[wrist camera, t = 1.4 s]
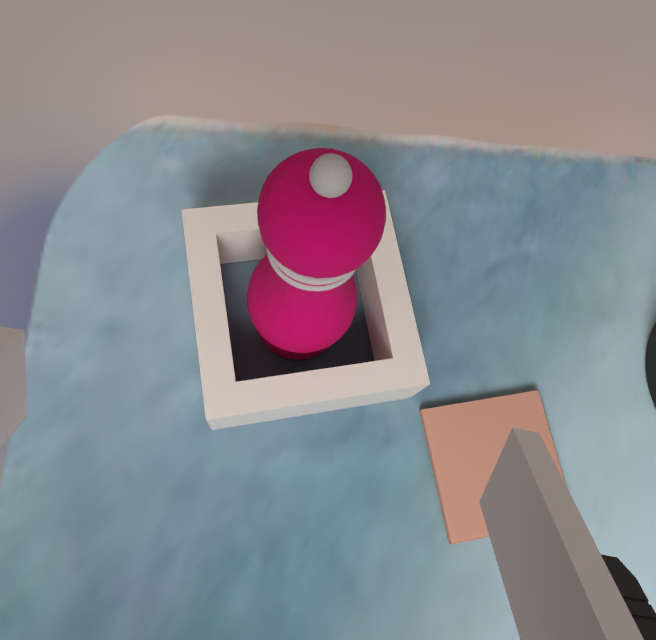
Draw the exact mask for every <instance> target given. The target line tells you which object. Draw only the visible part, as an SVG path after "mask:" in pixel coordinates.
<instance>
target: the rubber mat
mask: <svg viewBox="0 0 656 640" xmlns="http://www.w3.org/2000/svg"><path fill="white" fill-rule="evenodd" d="M420 415H421V420H422V424H423V429H424V433H425V438H426V442H427V446H428V451H429V455H430V460H431V464H432V469H433V473H434V478H435V482H436V487H437V491H438V495H439V500H440V504H441V509H442V513H443V518H444V522H445V527H446V531H447V536H448V540H449V544H456V543H461V542H465V541H470V540H475V539H480V538H484V537H489V533H488V530H487V526H486V523H485V520H484V516H483V513H482V510H481V506H480V503H479V501H480V499H481V497H482V494H483V492H484V490H485V488H486V485H487V483H488V481H489V479H490V476H491V474H492V472H493V470H494V468H495V465H496V463H497V461H498V459H499V456H500V454H501V452H502V450H503V447H504V445H505V443H506V441H507V439H508V436H509V434H510V432H511V430H512V427H513V428H518V429H523V430H528V431H533V432H538V433H539V434H540V436H541V438H542V440H543V441H544V443H545V445H546V447H547V449H548V451H549V453H550V455H551V457H552V459H553V461H554V463H555V465H556V467H557V469H558V471H559V473H560V475H561V477H562V479H563V481H564V478H563V475H562V471H561V468H560V464H559V461H558V457H557V454H556V450H555V447H554V443H553V440H552V436H551V433H550V429H549V426H548V422H547V419H546V415H545V412H544V409H543V405H542V402H541V398H540V395H539V391H538V390H536V391H530V392H524V393H518V394H512V395H506V396H500V397H494V398H488V399H482V400H476V401H470V402H464V403H458V404H452V405H446V406H440V407H434V408H428V409H422V410H420ZM564 483H565V482H564Z"/></svg>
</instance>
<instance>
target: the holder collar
mask: <svg viewBox="0 0 656 640" xmlns="http://www.w3.org/2000/svg"><path fill="white" fill-rule="evenodd" d="M382 192H383V195H384V199H385V205H386V223H385V228H384V233H383V236H382V239H381V241H380V243H379V245H378V247H377V248H376V250H375V251H374V253H373V254H372V256H371V257H370V258H369V259H368V260H367V261H366V262H364V263H363V264H362V265H361V266H360V267H358V268H357V269H356V274H357V279H358V284H359V289H360V294H361V299H362V303H363V308H364V313H365V318H366V323H367V328H368V332H369V337H370V342H371V347H372V352H373V357H374V361H372V362H365V363H358V364H352V365H345V366H338V367H332V368H325V369H318V370H312V371H305V372H298V373H292V374H285V375H278V376H271V377H265V378H258V379H251V380H245V381H238V382H236V378H235V370H234V363H233V355H232V348H231V340H230V333H229V325H228V318H227V311H226V303H225V296H224V288H223V281H222V273H221V266H220V264H225V263H233V262H242V261H251V260H260V259H263V258H264V257H265V256H266V255H267V249H266V245H265V244H264V242H263V241H262V237H261V233H260V230H259V226H258V218H257V207H258V202H255V203H245V204H234V205H224V206H214V207H203V208H193V209H183V210H182V217H183V226H184V234H185V243H186V251H187V260H188V269H189V277H190V286H191V295H192V303H193V312H194V321H195V329H196V338H197V346H198V355H199V364H200V372H201V381H202V390H203V398H204V407H205V416H206V421H207V422H208V424H209V426H210V427H211V429H212V430H216V429H222V428H228V427H235V426H241V425H247V424H253V423H259V422H265V421H271V420H278V419H284V418H290V417H296V416H302V415H308V414H314V413H321V412H327V411H333V410H339V409H345V408H351V407H357V406H364V405H370V404H376V403H382V402H388V401H394V400H400V399H407V398H410V397H412V396H413V395H415V394H416V393H418V392H419V391H421V390H422V389H424V388H425V387H427V386H428V385H430V381H429V377H428V373H427V368H426V364H425V360H424V355H423V351H422V347H421V343H420V338H419V334H418V330H417V325H416V321H415V317H414V313H413V308H412V304H411V300H410V295H409V291H408V287H407V282H406V278H405V274H404V270H403V265H402V261H401V257H400V252H399V248H398V244H397V240H396V235H395V231H394V227H393V222H392V218H391V214H390V209H389V205H388V201H387V197H386V192H385V190H382Z"/></svg>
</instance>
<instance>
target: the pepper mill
mask: <svg viewBox="0 0 656 640" xmlns="http://www.w3.org/2000/svg"><path fill="white" fill-rule="evenodd" d="M257 218H258V226H259V230H260V233H261V237H262V241H263V242H264V244H265V245H266V249H267V255H266V256H265V257H264V258H263V259H262V260H261V261H260V263H259V264H258V265H257V267H256V268H255V270H254V272H253V274H252V276H251V279H250V283H249V287H248V293H247V306H248V312H249V315H250V317H251V320H252V322H253V324H254V326H255V327H256V330H257V333H258V335H259V337H260V338H261V340H262V342H263V343H264V344H265V345H266V346H267V347H268V348H269V349H270V350H271V351H273V352H274V353H276V354H278V355H280V356H282V357H285V358H288V359H293V360H303V359H309V358H312V357H315V356H317V355H319V354H321V353H323V352H324V351H325V350H327V349H328V348H329V347H330V346H331V345H332V344H334V343H335V342H336V341H338V340H339V339H340V338H341V337H342V336H343V335H344V334H345V333H346V331H347V330H348V328H349V327H350V325H351V323H352V321H353V318H354V315H355V311H356V307H357V297H358V296H357V289H356V283H355V280H354V276H353V274H354V272H355V271H356V269H357V268H358V267H360V266H361V265H362V264H363V263H364V262H366V261H367V260H368V259H369V258H370V257H371V256H372V254H373V253H374V251H375V250H376V248H377V247H378V245H379V243H380V241H381V239H382V236H383V233H384V228H385V223H386V205H385V199H384V195H383V192H382V189H381V186H380V184H379V182H378V181H377V179H376V177H375V176H374V174H373V173H372V172H371V171H370V170H369V168H368V167H367V166H366V165H364V164H363V163H362V162H360V161H359V160H358V159H357V158H355V157H353V156H351V155H349V154H347V153H345V152H342V151H338V150H334V149H326V148H318V149H309V150H305V151H301V152H298V153H296V154H294V155H292V156H290V157H288V158H287V159H285V160H284V161H282V162H281V163H279V164H278V165H277V166H276V167H275V169H274V170H273V171H272V172H271V173H270V174H269V176H268V177H267V179H266V181H265V183H264V184H263V187H262V190H261V193H260V197H259V202H258V207H257Z"/></svg>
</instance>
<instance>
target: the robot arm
mask: <svg viewBox="0 0 656 640" xmlns="http://www.w3.org/2000/svg"><path fill="white" fill-rule="evenodd" d="M646 370H647V379H648V384H649V389H650V393H651V396H652V399H653V402H654V404H655V407H656V325H655V327H654V329H653V331H652V334H651V336H650V340H649V344H648V348H647V357H646ZM25 418H26V374H25V331H23V330H17V329H13V328H7V327H3V326H0V448H1V446H2V445H3V444H4V443H5V442H6V441H7V439H8V438H9V437H10V436H11V435H12V433H13V432H14V431H15V430H16V429H17V428H18V426H19V425H20V424H21V423H22V422H23V420H24V419H25ZM479 503H480V506H481V510H482V513H483V516H484V520H485V523H486V526H487V530H488V533H489V536H490V540H491V543H492V546H493V550H494V553H495V556H496V560H497V563H498V566H499V570H500V573H501V576H502V580H503V583H504V586H505V590H506V593H507V597H508V600H509V603H510V607H511V610H512V613H513V617H514V620H515V623H516V627H517V630H518V633H519V637H520V640H656V613H655V612H654V610H653V608H652V606H651V605H649V604H648V599H647V597H646V595H645V593H644V592H643V590H642V588H641V586H640V584H639V583H638V581H637V579H636V578H635V577H634V575H633V574H632V573H631V572H630V571H629V570H628V569H627V568H626V567H625V566H624V565H623V563H622V562H621V561H620V560H619V559H618V558H616V557H611V556H606V555H601V554H600V552H599V550H598V548H597V546H596V544H595V542H594V540H593V538H592V536H591V534H590V532H589V530H588V528H587V526H586V524H585V522H584V520H583V519H582V517H581V515H580V513H579V511H578V509H577V507H576V505H575V503H574V501H573V499H572V497H571V495H570V493H569V491H568V489H567V487H566V485H565V483H564V481H563V479H562V477H561V475H560V473H559V471H558V469H557V467H556V465H555V463H554V461H553V459H552V457H551V455H550V453H549V451H548V449H547V447H546V445H545V443H544V441H543V440H542V438H541V436H540V434H539V433H538V432H533V431H528V430H523V429H518V428H513V427H512V430H511V432H510V434H509V436H508V439H507V441H506V443H505V445H504V447H503V450H502V452H501V454H500V456H499V459H498V461H497V463H496V465H495V468H494V470H493V472H492V474H491V476H490V479H489V481H488V483H487V485H486V488H485V490H484V492H483V494H482V497H481V499H480V501H479Z"/></svg>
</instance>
